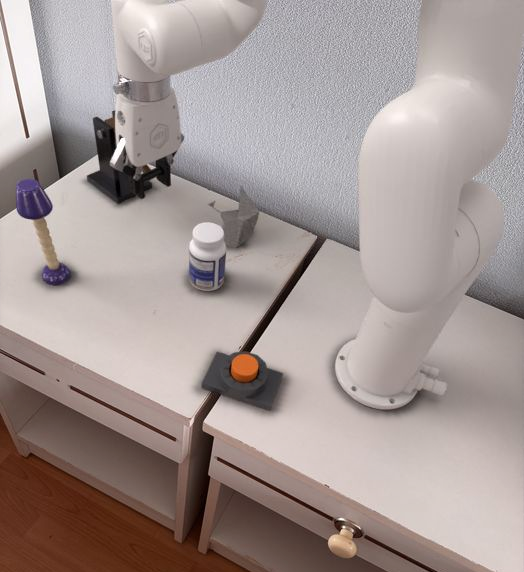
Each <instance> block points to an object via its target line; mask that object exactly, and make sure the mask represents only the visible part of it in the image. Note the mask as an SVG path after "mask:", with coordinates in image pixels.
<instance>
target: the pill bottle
mask: <svg viewBox="0 0 524 572" xmlns="http://www.w3.org/2000/svg"><path fill="white" fill-rule="evenodd" d="M223 229H224V228H222V226H220V225H219V224H217V223H215V222H209V221H208V222H207V221H206V222H201V223H198V224H197V225H195V226H194V227H193V230H192V239H191V240H190V241H189V244H188V279H189V282H190V284H191V285H192V286H193V287H194V289H196V290H199V291H202V292H212V291H216V290H218V289H219V288H221V287H222V285H223V284H224V282H225V277H226V276H225V274H226V259H227V246H226V244H225V242H224V231H223Z"/></svg>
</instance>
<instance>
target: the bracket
mask: <svg viewBox="0 0 524 572" xmlns="http://www.w3.org/2000/svg"><path fill="white" fill-rule="evenodd" d="M111 114H112V115H111V116H112V117H115V109H114V110H111ZM92 125H93V132H94V138H95V139H94V140H95V146H96V152H97V159H98V166H99V170H97V171H94V172H91V173H89V174H87V175H86V180H87V182H88V183H90V185H92V186H93V187H95V188H96V189H97V190H98V191H100V192H101V193H102V194H104V195H105V196H106V197H108V198H109V199H110V200H112V201H113V202H114V203H116V204H117V205H120V204H122V203H124V202H127V201H128V200H130V199H132V198H135V197H137V196H136V195H135V194H133V193H132V192H131V191H130V187H129V177H128V175H127V174H126V173H124V172H121V171H119V170H117V169H115V168H113V167H112V166H111V165H110V161H111V159H112V157H113V155H114V152H115V150H116V148H117V144H116V141H115V136H114V128H113V127H112V126H110V125H109V124H107V123H106V122H105V120H103V119H101V118H100V117H98V116H95V117H92ZM126 156H127V155H126ZM126 156H125V158H124V160H123V163H126ZM134 167H135V166H134V165H133V169H134ZM144 187H145V192H148V191H149V190H152V189H153V182H152V181H151V180H149V181H147V182H145V183H144Z"/></svg>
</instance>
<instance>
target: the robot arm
mask: <svg viewBox="0 0 524 572" xmlns="http://www.w3.org/2000/svg"><path fill="white" fill-rule="evenodd" d="M268 1H269V0H179V1H175V2H172V3H169V0H110V7H111V9H110V10H111V18H112V19H111V20H112V28H113V39H114V48H115V57H116V58H115V59H116V68H117V69H116V70H117V82H116V83H115V84H113V85H112V90H113V92H114V93H115V94H116V100H115V109H114V110H115V132H116V143H115V145H116V144H117V148H116V150H115V152H114V155H113V157H112V159H111V161H110V165H111V166H112V167H113V168H115V169H117V170H119V171H121V172H124V173H126V174H127V175H128V177H129V187H130V191H131V192H132V193H133V194H135V195H136V196H135V197H138V198H139V199H140V200H144V199H145V198H146V191H145V187H144V179H143V178H142V177H141V174H142V173H143V172H142V167H143V166H144V165H149V164H151V163H154V162H155V168H156V167H158V166H161V167H162V168H163V170H164V174H162V175H160V176H158V177H156V178H155V179H156V181H158V182H159V183H161V184H162V185H164V186H165V187H167V188H168V187H170V186H172V178H171V176H172V174H171V169H172V168H171V166H172V165H173V164H174V162H175V159H174V157H175V156H176V154H177V152H178V151H179V149H180V148H181V146H182V143H183V142H184V141H185V135H184V134H183V133H182V131H181V118H180V111H179V104H178V99H177V96H176V92H175V89H174V88H173V87H171V76H174V75H177V74H181V73H183V72H187V71H190V70H192V69H195V68H197V67H201V66H203V65H206V64H209V63H212V62H215V61H219V60H221V59H224V58H226V57H227V56H229V55H230V54H232V53H233V52H234V51H235V50H236V49H237V48H239V47H240V45H242V44H243V42H245V40H246V39H247V38H248V37H249V36H250V35H251V34H252V33H253V32H254V31H255V30H256V28H257V27H258V26H259V25H260V23H261V22H262V20H263V18H264V16H265V11H266V8H267V5H268ZM523 42H524V0H421V5H420V9H419V15H418V23H417V53H416V54H417V55H416V63H415V64H416V65H415V73H414V80H413V85H412V87H411V89H410V90H408V91H406V92H405V93H402V94H400V95H399V96H397V97H395V98H394V99H392V100H391V101H390V102H388V103H387V104H386V105H384V106H383V107H382V108H381V109H380V110H379V111H378V112H377V113H376V115H375V116H374V117H373V119H372V120H371V122H370V124H369V125H368V127H367V129H366V131H365V134H364V135H363V140H362V142H361V146H360V150H359V156H358V164H357V186H358V187H357V188H358V189H357V190H358V193H357V194H358V233H359V234H358V235H359V237H358V238H359V240H358V241H359V259H360V260H359V261H360V266H361V270H362V275H363V278H364V281H365V283H366V286H367V287H368V290H370V293H372V295H373V297H372V299H371V302H370V304H369V307H368V309H367V311H366V314H365V316H364V319H363V320H362V324H361V325H360V328H359V331H358V333H357V335H356V338H353V339H351V340H349V341H348V342H346V343H345V344H344V345H342V347H341V348H340V349H339V351H338V354H337V355H336V358H335V363H334V370H335V376H336V379H337V381H338V383H339V384H340V385H339V386H341V388H342V389H343V390H344V391H345V393H346V394H347V395H349V396H350V397H351V398H352V399H353V400H354V401H356V402H358V403H360V404H361V405H363V406H367V407H369V408H373V409H377V410H395V409H399V408H402V407H404V406H405V405H407V404H409V403H410V402H411V401H412V400H414V398H415V396H416V395H417V393H418V391H421V390H426V391H428V392H429V393H431V394H435V395H439V396H441V397H442V396H444V395H445V394H446V391H447V387H448V383H447V382H445V381H441V380H439V379H436V378H438V377H439V374H440V368H438V367H434V366H431V365H426V364H425V362H424V360H425V358H426V357H427V356H428V354H429V352H430V350H431V349H432V347H433V346H434V344H435V343H436V341H437V339H438V337H439V336H440V334H441V333H442V332H443V330H444V328H445V326H446V325H447V323H448V321H449V320H450V319H451V317H452V315H453V314H454V312H455V311H456V309H457V307H458V306H459V304H460V302H461V301H462V300H463V298H464V296H465V295H466V293H467V292H468V290H469V289H470V287H471V286H472V285H473V283H474V282H475V280H476V279H477V277H479V274H481V272H482V270H483V269H484V267H486V265H487V263H488V262H489V260H490V259H491V258H492V256H493V254H494V253H495V251H496V249H497V247H498V246H499V243H500V241H501V239H502V237H503V233H504V228H505V212H504V207H503V203H502V202H501V199H500V198H499V196H498V195H497V193H496V192H495V191H494V190H493V189H492V188H491V187H490V186H488V185H487V184H485V183H483V182H482V181H479V180H476V179H474V178H475V177H476V176H477V175H479V174H480V173H481V172H482V171H484V170H485V169H486V168H487V167H489V165H490V164H492V163H493V161H495V160H496V158H497V157H498V156H499V155H500V154H501V152H502V151H503V149H504V147H505V146H506V143H507V140H508V138H509V136H510V131H511V125H512V118H513V110H514V104H515V103H514V102H515V96H516V89H517V83H518V75H519V69H520V63H521V56H522V49H523V44H524V43H523ZM126 155H127V156H126ZM125 156H126V163H123V160H124V158H125ZM133 165H134V166H135V167H134V169H133ZM426 375H427V376H429V377H427V376H426ZM430 377H432V378H430ZM433 378H434V379H433Z"/></svg>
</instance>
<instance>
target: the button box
mask: <svg viewBox="0 0 524 572" xmlns="http://www.w3.org/2000/svg"><path fill="white" fill-rule="evenodd" d="M241 354H247V355H251V356H253V357H254V358H255V359H256V360H257V362H258V372H257V376H256V378H255V379H254V380H253V381H251V382H248V383H242V382H239V381H237V380H235V379H234V378H233V376H232V374H231V366H232V361H233V359H234V358H235V357H236V356H238V355H241ZM283 376H284V373H283V372H281V371H278V370H275V369H272V368H269V367H268V366H267V363H266V362H265V360H264V359H263V358H261V357H260V356H259V355H258V354H255V353H252V352H250V351H245V350H244V351H234V352H232V353H230V354H227V353H223V352H221V351H216V352H215V355H214V357H213V359H212V361H211V362H210V365H209V367H208V369H207V371H206V373H205V375H204V376H203V379H202V382H201V385H200V386H201V389H203V390H206V391H208V392H212V393H215V394H217V395H221V396H224V397H227V398H230V399H233V400H237V401H239V402H242V403H245V404H248V405H251V406H254V407H257V408H260V409H263V410H266V411H270V412H271V409H272V406H273V403H274V400H275V398H276V396H277V394H278V389H279V387H280V384H281V381H282V379H283Z"/></svg>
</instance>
